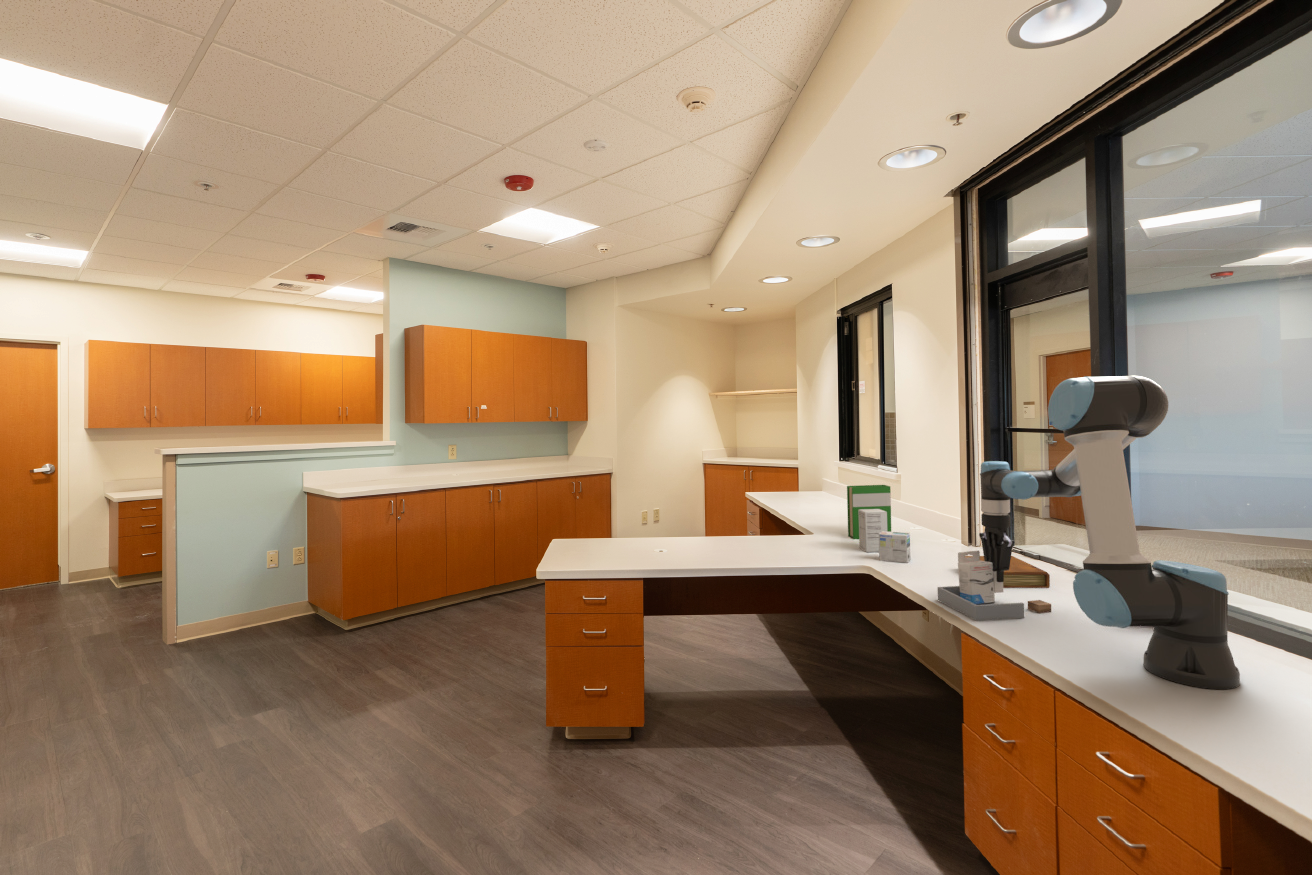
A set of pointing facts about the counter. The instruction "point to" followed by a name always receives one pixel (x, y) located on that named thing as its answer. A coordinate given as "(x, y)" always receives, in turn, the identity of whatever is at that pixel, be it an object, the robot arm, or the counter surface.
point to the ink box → (975, 578)
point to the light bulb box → (894, 546)
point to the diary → (1023, 575)
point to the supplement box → (871, 528)
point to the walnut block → (1039, 606)
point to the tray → (979, 606)
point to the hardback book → (867, 504)
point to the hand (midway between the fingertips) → (997, 591)
